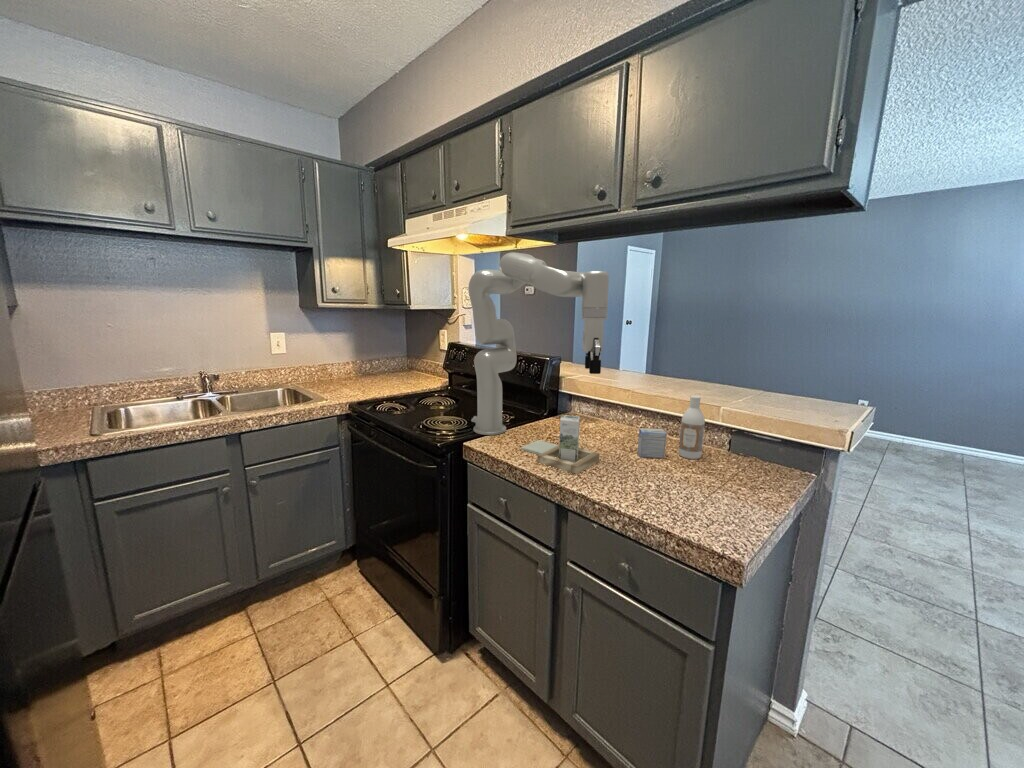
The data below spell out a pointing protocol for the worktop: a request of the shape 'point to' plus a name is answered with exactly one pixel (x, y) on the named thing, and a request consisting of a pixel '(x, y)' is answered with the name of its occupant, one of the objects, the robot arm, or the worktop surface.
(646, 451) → the medicine box
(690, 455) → the bath foam
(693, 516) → the worktop surface
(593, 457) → the beige flat square frame
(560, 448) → the syrup box
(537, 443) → the sage tile
